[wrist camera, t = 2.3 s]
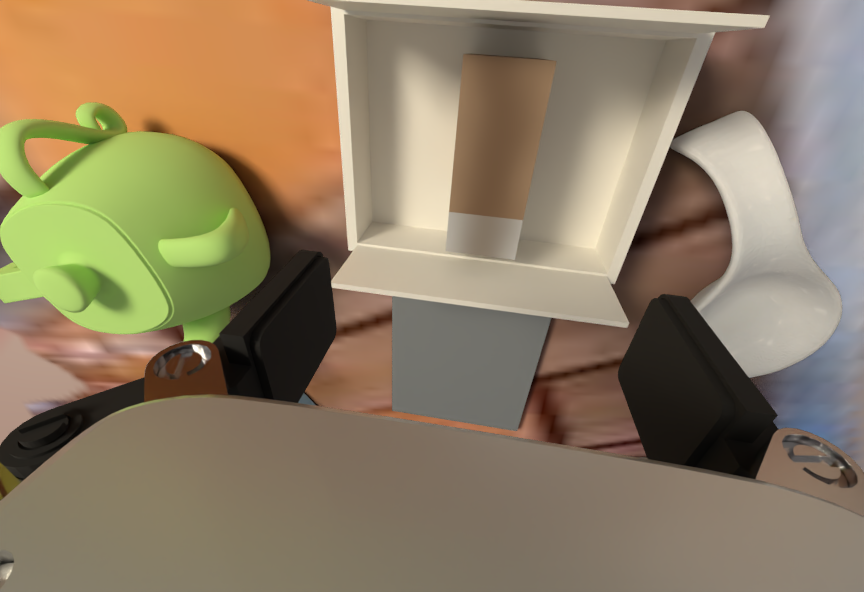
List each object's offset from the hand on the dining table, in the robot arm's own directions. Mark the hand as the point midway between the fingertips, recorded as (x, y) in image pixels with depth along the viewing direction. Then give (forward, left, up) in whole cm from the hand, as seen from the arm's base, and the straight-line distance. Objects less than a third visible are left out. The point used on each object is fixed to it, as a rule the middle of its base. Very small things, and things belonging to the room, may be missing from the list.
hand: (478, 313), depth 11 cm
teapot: (+28, +11, -23) cm, 38 cm away
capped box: (0, 0, -22) cm, 22 cm away
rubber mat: (0, +24, -23) cm, 33 cm away
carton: (0, 0, -23) cm, 23 cm away
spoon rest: (-21, +7, -23) cm, 32 cm away
